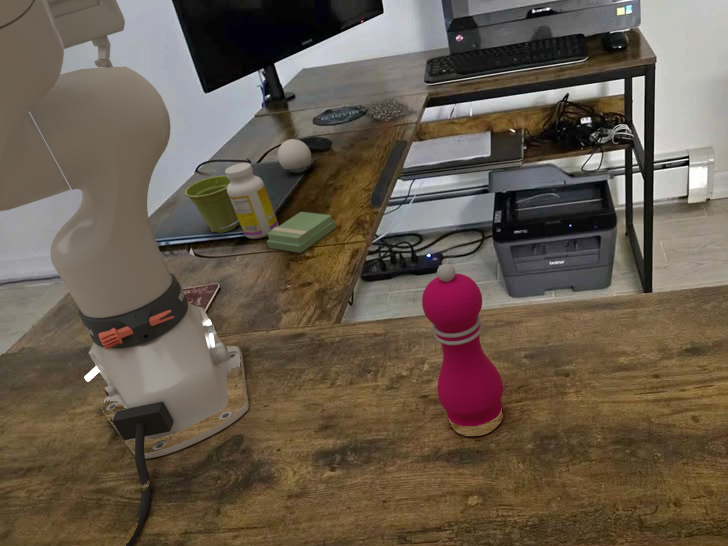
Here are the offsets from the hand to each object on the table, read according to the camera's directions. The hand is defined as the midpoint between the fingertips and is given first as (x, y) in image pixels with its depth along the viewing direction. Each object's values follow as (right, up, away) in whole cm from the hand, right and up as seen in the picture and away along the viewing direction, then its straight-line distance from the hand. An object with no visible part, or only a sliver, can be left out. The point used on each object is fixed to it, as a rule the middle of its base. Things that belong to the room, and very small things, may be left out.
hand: (79, 81), depth 99 cm
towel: (+26, -18, +24) cm, 40 cm away
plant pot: (+9, -15, +34) cm, 38 cm away
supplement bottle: (+17, -17, +29) cm, 38 cm away
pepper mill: (+59, -48, -23) cm, 79 cm away
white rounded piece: (+17, +2, +55) cm, 57 cm away
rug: (+33, +26, +82) cm, 93 cm away
